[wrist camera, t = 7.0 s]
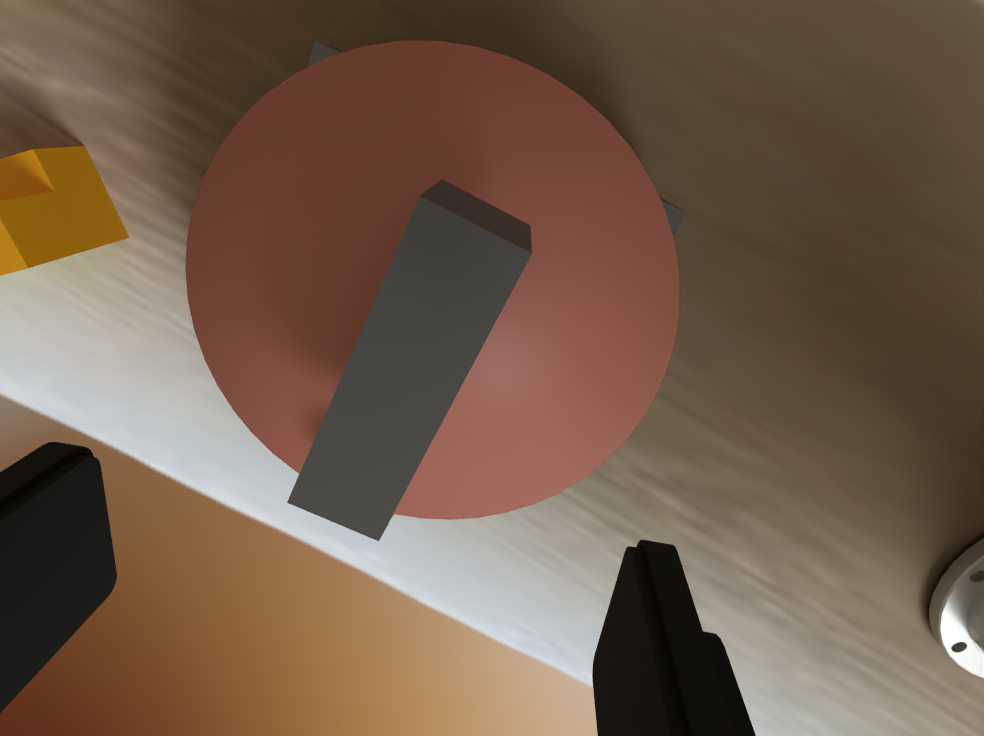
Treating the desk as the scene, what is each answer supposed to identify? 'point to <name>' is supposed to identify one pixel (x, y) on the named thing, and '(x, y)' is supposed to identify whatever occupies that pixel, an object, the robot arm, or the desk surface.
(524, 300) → the handwheel
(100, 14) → the desk surface
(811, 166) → the desk surface
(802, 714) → the desk surface
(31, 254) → the pipe clamp
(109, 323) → the desk surface
